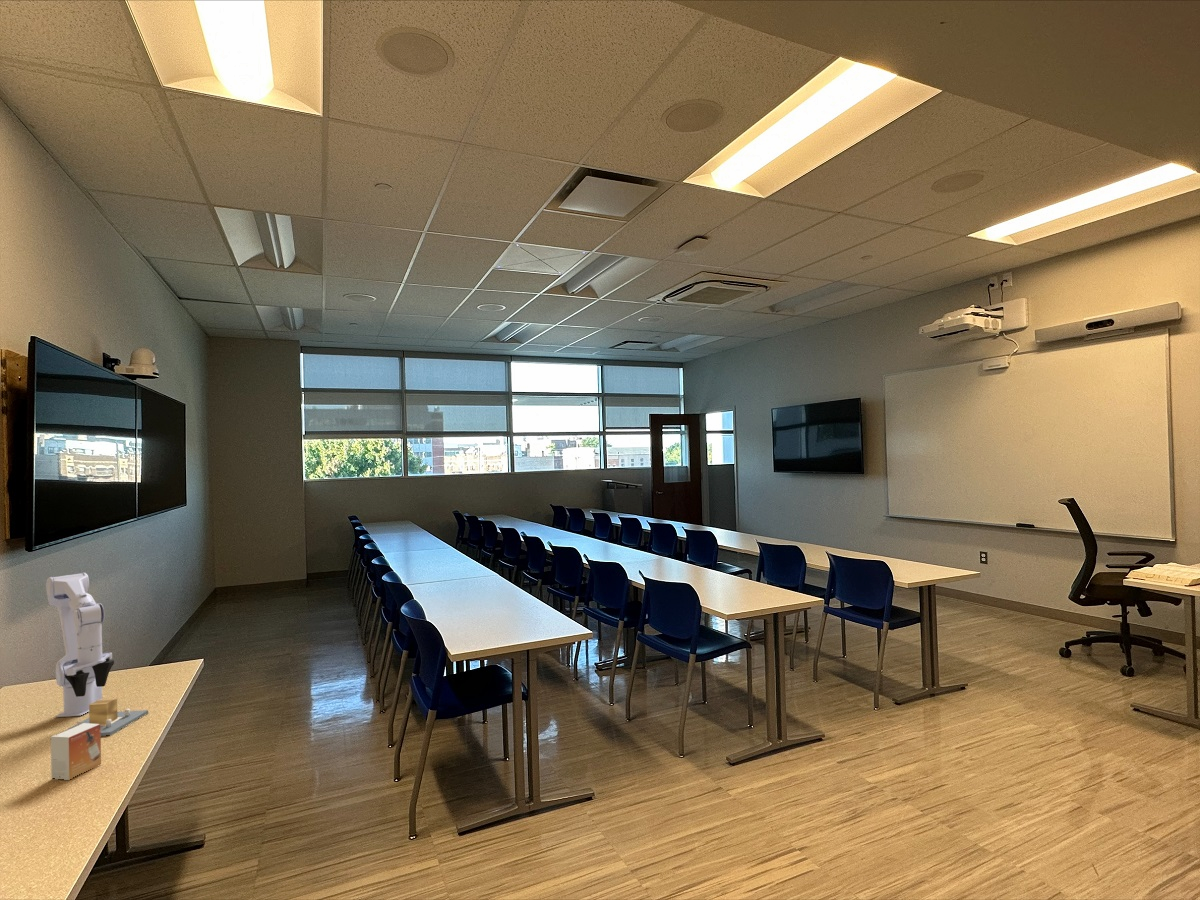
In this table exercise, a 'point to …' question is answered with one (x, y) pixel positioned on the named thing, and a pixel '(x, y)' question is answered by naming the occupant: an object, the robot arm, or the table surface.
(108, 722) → the pin board
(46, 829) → the table surface
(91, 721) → the ochre block
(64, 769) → the small box
